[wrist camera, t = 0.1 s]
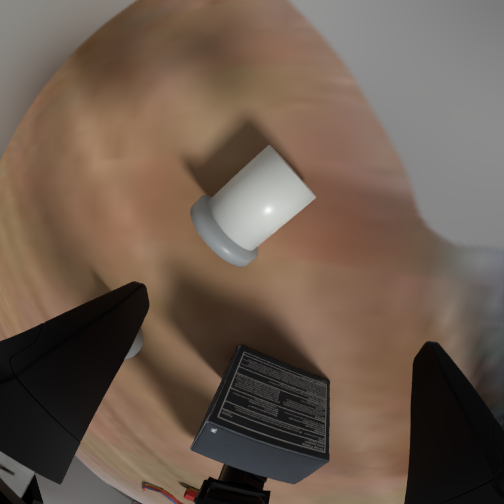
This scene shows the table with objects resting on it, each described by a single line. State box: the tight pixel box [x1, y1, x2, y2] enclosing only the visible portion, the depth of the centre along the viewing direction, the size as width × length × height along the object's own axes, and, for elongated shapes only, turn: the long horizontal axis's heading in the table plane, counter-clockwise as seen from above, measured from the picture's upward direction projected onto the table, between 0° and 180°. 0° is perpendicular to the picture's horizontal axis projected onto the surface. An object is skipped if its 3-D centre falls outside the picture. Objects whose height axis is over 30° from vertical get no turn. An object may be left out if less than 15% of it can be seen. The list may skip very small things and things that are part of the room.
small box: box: [190, 345, 330, 484], centre depth 22 cm, size 11×6×10 cm, turn 68°
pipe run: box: [124, 145, 316, 360], centre depth 23 cm, size 30×6×6 cm, turn 132°
